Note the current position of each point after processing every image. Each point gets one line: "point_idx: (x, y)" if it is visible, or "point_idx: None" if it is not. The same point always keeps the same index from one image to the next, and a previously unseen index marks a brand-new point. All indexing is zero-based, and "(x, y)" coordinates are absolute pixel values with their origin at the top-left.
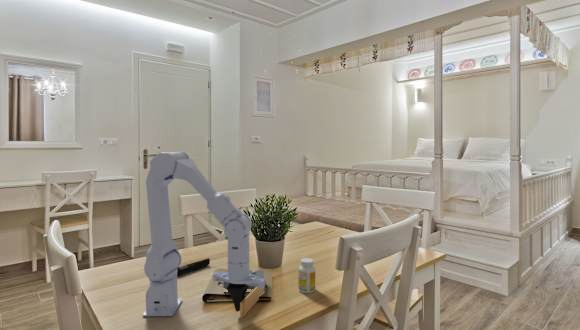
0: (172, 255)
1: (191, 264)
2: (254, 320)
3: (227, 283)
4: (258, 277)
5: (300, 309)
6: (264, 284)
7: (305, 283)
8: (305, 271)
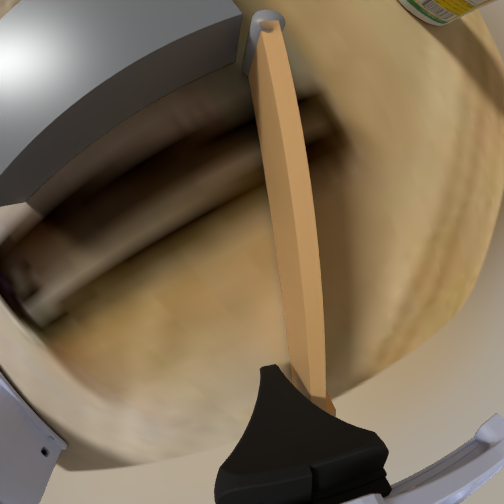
0: None
1: None
2: (359, 360)
3: (1, 190)
4: (494, 467)
5: (480, 178)
6: (501, 422)
7: (463, 11)
8: None
